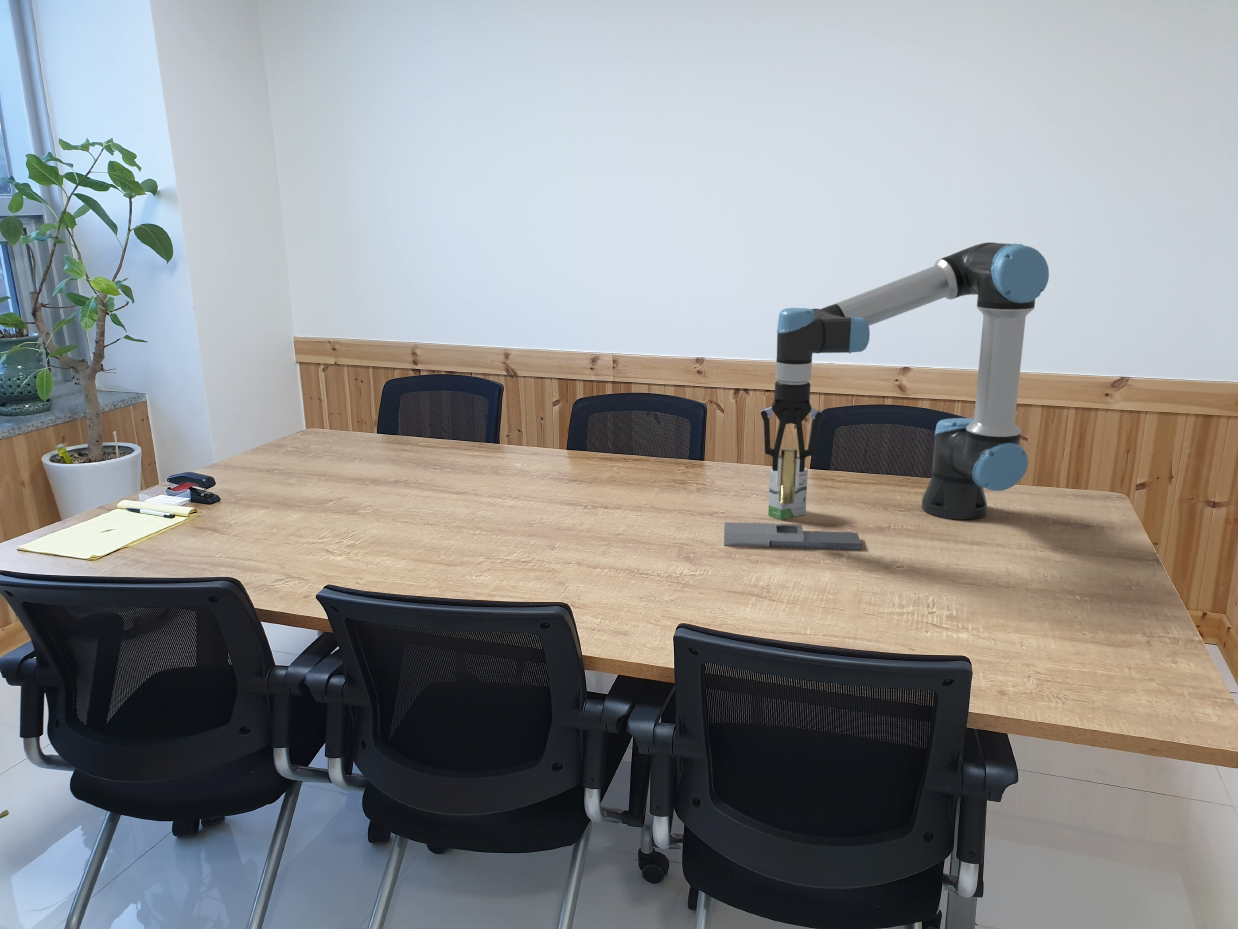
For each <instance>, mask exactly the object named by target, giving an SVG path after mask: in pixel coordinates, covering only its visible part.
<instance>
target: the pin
mask: <svg viewBox="0 0 1238 929" xmlns="http://www.w3.org/2000/svg"><path fill="white" fill-rule="evenodd" d="M780 455H781V457H782V464H781V483H780V487H779V502H780V503H783V504H792V503H794V497H795V473H796V458H797V456H798V449H797V448H794V447H782V448H780Z"/></svg>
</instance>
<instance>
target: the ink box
mask: <svg viewBox="0 0 1238 929" xmlns="http://www.w3.org/2000/svg"><path fill="white" fill-rule="evenodd" d="M808 472H809V470H808V468H806V467H805V470H804V472H799V485H798V487H795V497H794V503H792V504H783V503H780V502H779V487H777V483H776V482H777V471H773V469H772V468H771V469H770V470H769V486H768V508H767V510H768V512H767V514H768V516H769V517H772V518H775V519H777V520H781V521H783V520H787V519H790V518H794V517H798V516H803V515H806V514H807V511H806V510H807V494H808V493H807V492H808V491H807V490H808V475H809V474H808Z"/></svg>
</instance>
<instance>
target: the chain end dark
mask: <svg viewBox="0 0 1238 929" xmlns="http://www.w3.org/2000/svg"><path fill="white" fill-rule="evenodd" d="M777 533H796V532H777ZM803 534H804V539H803V542H796V541H770V547H771V548H788V549H789V548H791V549H792V548H794V549H819V550H821V549H823V550H844V551H845V550H846V551H847V550H848V551H850V550H851V551H861V550H862V543H861V540H860V537H859V533H858V532H849V531H824V530H823V531H818V530H814V531H813V530H803Z"/></svg>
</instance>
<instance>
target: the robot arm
mask: <svg viewBox="0 0 1238 929" xmlns="http://www.w3.org/2000/svg"><path fill="white" fill-rule="evenodd" d="M1049 278H1050V271H1049V265H1048V263H1047V260H1046V258H1045V257H1044V256H1043V254H1042V253H1041V252H1040V251H1039V250H1037V249H1036V248H1034V247H1031V246H1030V245H1029V246H1028V245H1024V244H1022V243H1001V242H983V243H979V244H975V245H973V246H970V247H967V248H964V249H961V250H959V251H957V252H955V253H952V254H950V255H947V256H944V257H942V258H939V259H937V260H935V263H934V265H933V266H930V267H928V268H926V269H923V270H920V271H916V272H914V273H912V274H910V275H907V276H905V277H902V278H899V279H897V280H894V281H891V282H888V283H885V284H883V285H881V286H878V287H875V288H873V289H871V290H868V291H865V292H863V293H860V294H857V295H854V296H852V297H849V298H847V299H844V300H841V301H839V302H836V303H833V304H830V305H828V306H825V307H823V308H822V307H821V308H804V307H787V308H784V309H782V310H780V311H779V313H778V319H777V329H776V332H777V333H776V337H777V338H776V339H777V340H776V359H775V360H776V361H775V375H774V377H775V379H776V380H777V381H776V382H775V383H774V395H773V396H774V397H773V398H774V399H773V402H772V404H771V406H770V407H768V408H767V407H766V408H762V409H760V416H761V419H762V420H763V436H764V438H763V440H764V454H765V455H768V456H770V457H772V463H771V464H772V465H771V467H772V468H771V470H772V469H773V471H777V482H776V483H777V487H780V483H781V464H782V457H781V454H780V453H781V446H782V443H783V438H784V433H785V429H786V425H790V424H793V425H795V428H796V438H797V445H798V453H799V454H798V455H797V458H796V473H795V487H798V485H799V472H804V470H805V468H806V467H805V466H806V459H807V457H813V456H814V455H815V449H816V442H817V435H818V427H819V423H820V421H821V419H822V417H823V412H822V410H820V409H818V410H817V409H815V408H813V407H812V405H811V403H810V400H811V399H810V398H811V383H810V382H809V381H810V380H812V365H813V354H830V353H831V354H836V353H837V354H840V353H841V354H845V353H846V354H847V353H848V354H852V353H861V352H864V351H865V350H866V349H867V347H868V344H869V342H870V335H871V333H870V331H871V330H870V326H872V325H875V324H878V323H880V322H883V321H886V320H888V319H892V318H893V317H896V316H899V315H903V314H904V313H908V312H909V311H913V310H915V309H918V308H921V307H923V306H926V305H928V304H931V303H934V302H937V301H939V300H941V299H944V298H945V299H948V300H954V299H957V298H959V297H963V296H964V297H965V296H971V295H972V296H974V295H975V296H977V299H976V302H977V303H976V308H977V310H978V311H979V312H980V313H981V314H982V316H983V317H982V318H983V319H982V328H981V339H980V347H979V348H980V349H979V350H980V351H979V360H978V369H977V370H978V373H977V381H976V395H975V404H974V416H973V418H972V417H971V418H970V417H968V418H967V417H966V418H965V417H964V418H963V417H961V418H960V417H956V418H954V417H953V418H945V419H941V420H938V422H937V423H936V425H935V426H936V427H935V433H934V443H933V444H934V445H933V446H934V447H933V455H932V457H933V458H932V467H931V468H932V471H931V478H930V480H929V482H928V485H927V487H926V489H925V492H924V494H923V496H922V498H921V510H923V511H924V512H926V513H928V514H930V515H932V516H936V517H938V518H944V519H951V520H976V519H981V518H982V517H984V516H986V515H987V512H988V503H987V499H986V495H985V494H986V493H985V491H984V490H985V489H987V490H989V491H993V492H1000V491H1005V490H1006V491H1007V490H1008V489H1009V490H1010V489H1011V488H1012V487H1015V485H1016V484H1018V482H1021V480H1022V479H1023V478H1024V477H1025V475H1026V472H1027V470H1028V467H1029V457H1028V454H1027V452H1026V451H1025V449H1024V448H1023V446H1021V445H1020V444H1021V438H1022V437H1021V436H1022V430H1021V428H1020V427H1019V426H1018V425H1017V424H1016V414H1017V402H1018V395H1019V394H1018V393H1019V384H1020V377H1021V376H1020V375H1021V366H1022V357H1023V356H1022V355H1023V346H1024V337H1025V336H1024V335H1025V328H1026V326H1025V325H1026V319H1027V318H1026V317H1028V315H1029V314H1030V313H1031V312H1032V311H1034V309H1035V304H1036V299H1037V298H1039V297H1040V296H1041V293H1042V292H1045V289H1046V288H1047V285H1048V282H1049ZM773 413H774V414H775V416H776V418H777V419H778V420H779V422H778V426H777V432H776V436H775V441H774V445H773V448H772V447H771V429H770V428H771V425H770V419H772V414H773ZM809 414H810V418H811V423H810V432H809V438H808V445H807V449H805V440H804V432H803V423H802V422H803V421H804V420H805V418H806V417H808V415H809Z"/></svg>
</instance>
